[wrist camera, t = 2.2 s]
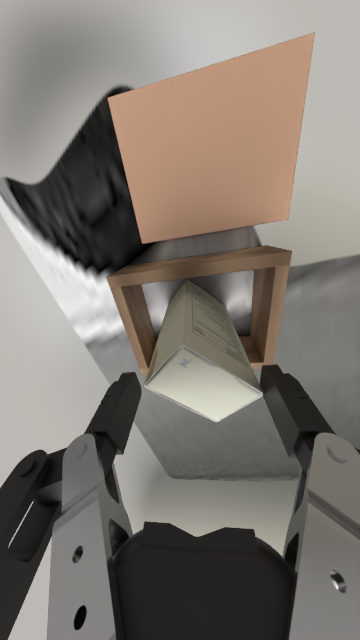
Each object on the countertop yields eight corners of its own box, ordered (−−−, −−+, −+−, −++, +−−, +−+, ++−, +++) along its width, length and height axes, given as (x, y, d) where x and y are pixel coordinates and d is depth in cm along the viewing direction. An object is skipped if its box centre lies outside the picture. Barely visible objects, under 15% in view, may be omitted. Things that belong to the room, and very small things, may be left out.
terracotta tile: (309, 40, 10) (314, 32, 10) (285, 219, 15) (288, 219, 15) (110, 102, 13) (107, 98, 12) (143, 243, 17) (142, 243, 17)
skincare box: (167, 305, 20) (136, 385, 10) (187, 277, 19) (176, 340, 8) (206, 331, 22) (216, 427, 11) (229, 308, 20) (267, 397, 9)
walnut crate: (266, 245, 16) (292, 250, 12) (257, 341, 22) (272, 368, 18) (127, 266, 19) (106, 277, 14) (151, 348, 24) (141, 374, 20)
